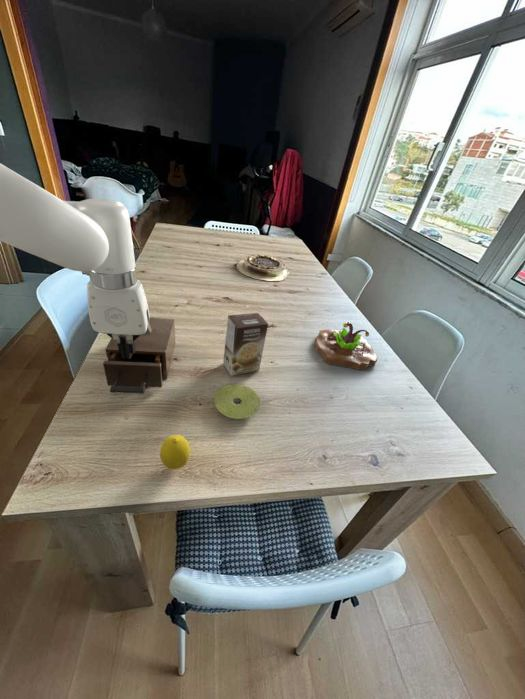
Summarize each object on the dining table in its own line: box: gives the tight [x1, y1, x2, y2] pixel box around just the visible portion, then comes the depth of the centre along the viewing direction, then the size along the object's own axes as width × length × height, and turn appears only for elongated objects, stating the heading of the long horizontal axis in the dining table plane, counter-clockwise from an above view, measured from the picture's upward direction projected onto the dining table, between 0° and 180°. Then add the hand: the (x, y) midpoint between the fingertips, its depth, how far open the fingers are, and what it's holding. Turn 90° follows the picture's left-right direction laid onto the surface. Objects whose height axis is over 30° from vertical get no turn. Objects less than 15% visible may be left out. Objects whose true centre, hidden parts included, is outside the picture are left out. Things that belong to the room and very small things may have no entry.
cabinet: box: [104, 316, 176, 380], centre depth 79 cm, size 16×14×9 cm
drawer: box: [102, 353, 164, 394], centre depth 73 cm, size 20×13×7 cm, turn 6°
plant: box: [314, 321, 378, 371], centre depth 96 cm, size 20×20×11 cm
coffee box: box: [222, 312, 269, 377], centre depth 80 cm, size 9×6×16 cm
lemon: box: [159, 434, 191, 470], centre depth 56 cm, size 6×6×8 cm
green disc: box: [213, 384, 261, 420], centre depth 72 cm, size 11×11×2 cm
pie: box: [236, 253, 292, 282], centre depth 147 cm, size 28×27×5 cm
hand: (128, 354), depth 64 cm, fingers closed
